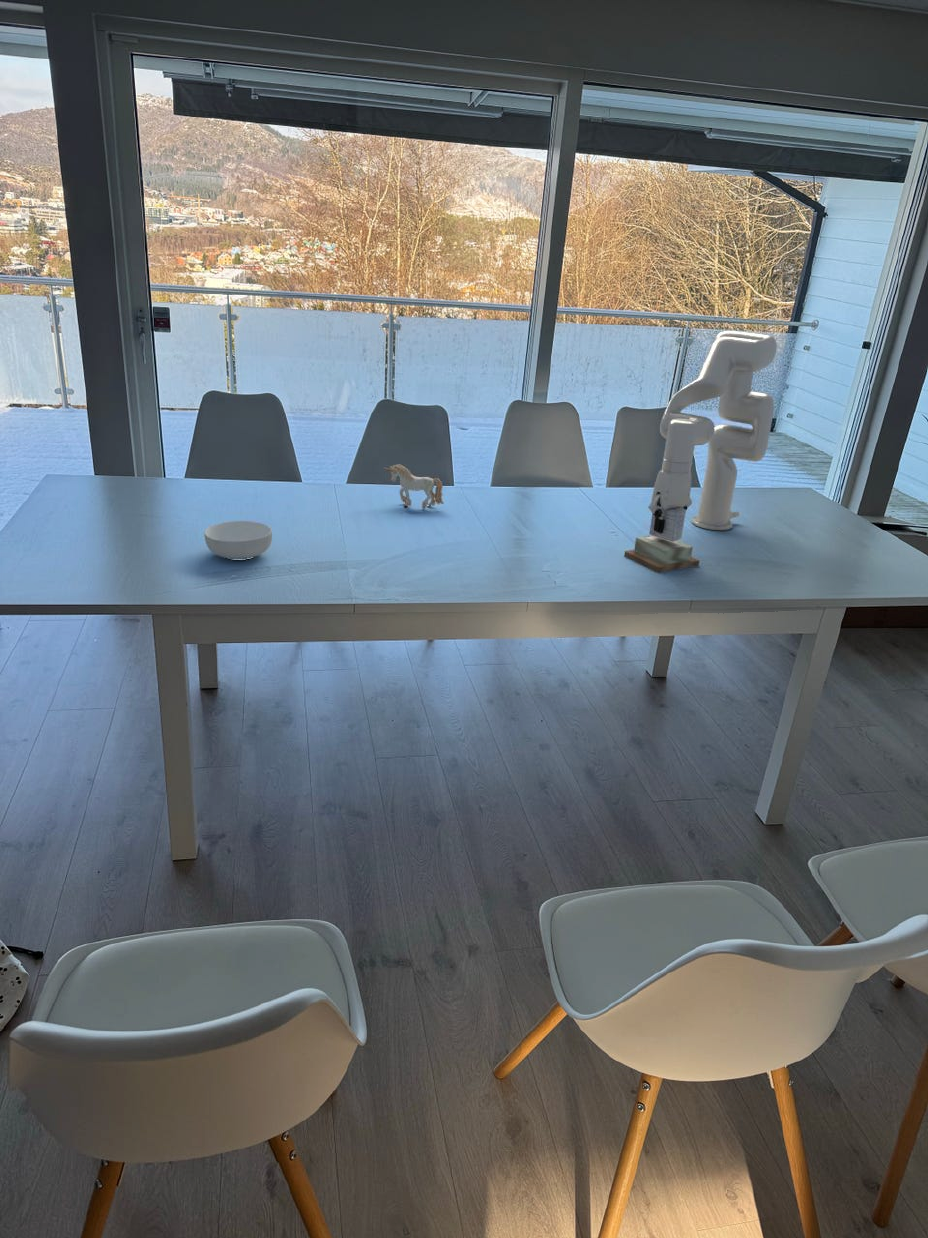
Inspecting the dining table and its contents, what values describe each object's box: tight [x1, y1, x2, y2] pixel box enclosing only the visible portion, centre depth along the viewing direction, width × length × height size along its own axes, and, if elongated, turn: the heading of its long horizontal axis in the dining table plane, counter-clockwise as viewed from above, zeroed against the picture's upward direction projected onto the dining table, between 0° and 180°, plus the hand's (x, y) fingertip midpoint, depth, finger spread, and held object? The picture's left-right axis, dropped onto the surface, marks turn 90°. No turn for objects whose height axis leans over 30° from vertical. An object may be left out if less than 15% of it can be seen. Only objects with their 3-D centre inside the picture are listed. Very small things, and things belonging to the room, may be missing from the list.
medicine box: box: [649, 506, 687, 542], centre depth 243 cm, size 8×4×9 cm, turn 45°
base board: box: [624, 534, 700, 574], centre depth 246 cm, size 15×14×6 cm
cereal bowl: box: [203, 520, 273, 559], centre depth 229 cm, size 17×17×7 cm
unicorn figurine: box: [383, 463, 445, 509], centre depth 277 cm, size 7×20×13 cm, turn 100°
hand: (666, 530), depth 244 cm, fingers closed on medicine box, 5 cm apart
